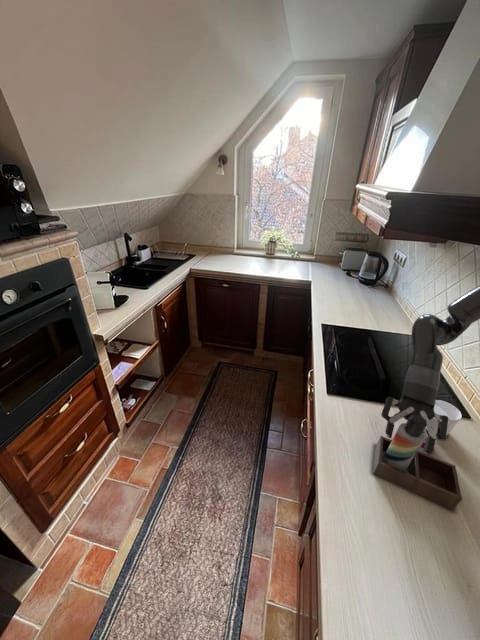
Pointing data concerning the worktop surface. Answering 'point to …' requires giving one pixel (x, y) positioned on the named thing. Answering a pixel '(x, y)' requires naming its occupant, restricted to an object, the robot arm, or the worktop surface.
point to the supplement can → (433, 424)
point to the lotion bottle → (406, 442)
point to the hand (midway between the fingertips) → (407, 444)
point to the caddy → (421, 476)
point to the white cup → (450, 414)
